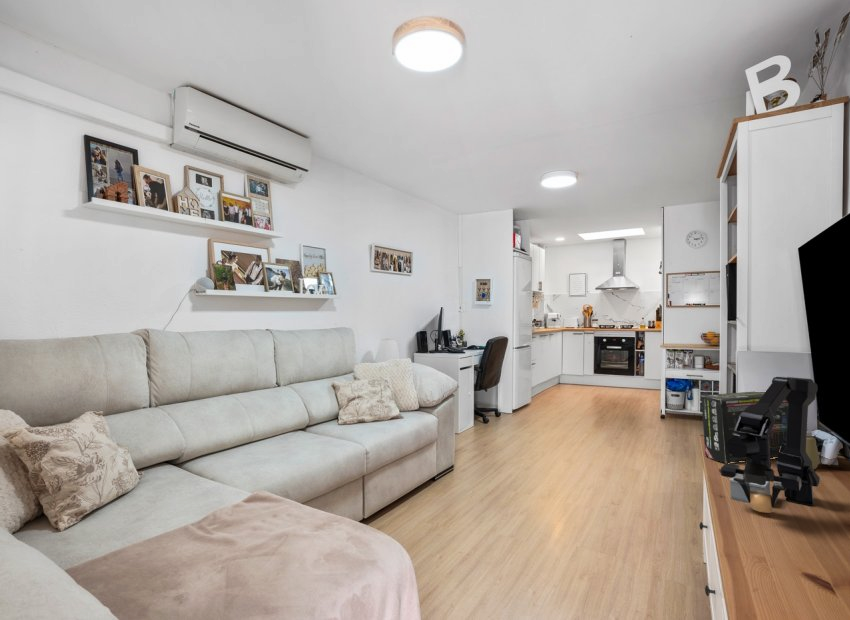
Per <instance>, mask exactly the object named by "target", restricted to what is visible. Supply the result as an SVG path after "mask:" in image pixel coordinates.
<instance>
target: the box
mask: <svg viewBox="0 0 850 620" xmlns="http://www.w3.org/2000/svg"><path fill="white" fill-rule="evenodd" d="M770 482H771V481H770ZM770 482H769V483H768V485H767V486H766V488H765V489H764V488H760V487H755V486H750V491H763V492H766V493H769V494H771V483H770ZM729 484H730V485H729V487H730V499H731V500H735V501H739V502H744V503H747V504H748V503H749V504H750V502H748V499H747V497H746V495H745V493H744V490H743V488H742V487H741V485H740V484H739V483H735V482H730V481H729Z"/></svg>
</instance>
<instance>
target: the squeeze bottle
mask: <svg viewBox="0 0 850 620" xmlns="http://www.w3.org/2000/svg"><path fill="white" fill-rule="evenodd" d="M816 444H817V439H816V438H815V437H814V436H813V432H812V431H811V430H808V428H807V436H806V453H807V455H808V456H809V458H810V459H811V461H812V468H813V469H816V468H818V466H819V463H820V456H819V450H818V444H817V445H816ZM816 470H817V469H816Z"/></svg>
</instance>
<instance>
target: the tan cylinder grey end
mask: <svg viewBox="0 0 850 620" xmlns="http://www.w3.org/2000/svg"><path fill="white" fill-rule="evenodd" d="M771 501H772V493H770V494H769V493H766V492H763V491H750V503H749V504H750V508H751V509H752V510H754V511H756V512H759V513H765V514H766V513H768V514H770V513H773V510H774V509H773V508H772V504H771Z"/></svg>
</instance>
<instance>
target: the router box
mask: <svg viewBox="0 0 850 620" xmlns="http://www.w3.org/2000/svg"><path fill="white" fill-rule="evenodd" d="M764 393H765V392H755V391H744V392H743V391H742V392H731V393H719V394H718V393H716V394H703V395H700V398H701V399H700V400H701V413H702V429H703V442H704V454H705V455H706V456H709V457H710V458H712V459H714V460H713V461H715V460H717V461H716V462H718V461H720V462H719V463H721V462H724V463H723V464H725V463H730V462H739V461H747V457H743V458H736V457H734V456H732V455H731V454H730V453H729V452H728V450H727V447H726V444H727V442H728V440H729V439H731V438H733V434H739V433H735V432H734V430H735V427H736V424H737V422H738V419H739V416H740V414H741V413H742V412H743V411H744V410H745V409H746V408H747V407H749V406H751V405H754V404H756V403H757V402H758V401H759V400H760V398H761V397H762V396H763V394H764ZM774 418H775V423H774V426H773V428H772V429H771V431H770V433H771V434H772V437H769V446H770V458H773V457H778V453H779V449H780V444H781V442H782V441H783V439H784V438H785V437H786V435H787V418H788V402H787V401H786V399H785V400H784V401H783V402H782V404H781V405H780V406H779V408H778V409H777V411H776V412H775V414H774ZM743 429H746V428H743ZM748 430H751V429H748ZM753 431H756V430H753ZM705 455H704V456H705ZM706 456H705V457H706ZM710 458H709V459H710ZM712 459H711V460H712Z"/></svg>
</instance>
